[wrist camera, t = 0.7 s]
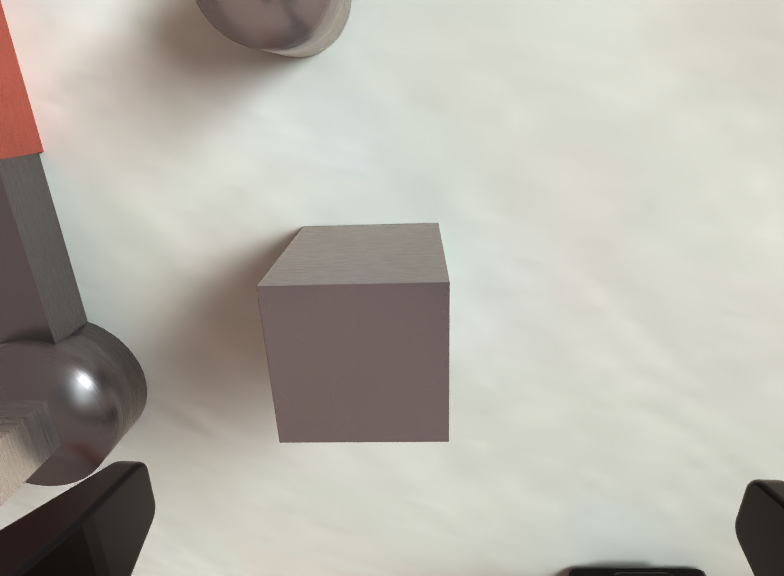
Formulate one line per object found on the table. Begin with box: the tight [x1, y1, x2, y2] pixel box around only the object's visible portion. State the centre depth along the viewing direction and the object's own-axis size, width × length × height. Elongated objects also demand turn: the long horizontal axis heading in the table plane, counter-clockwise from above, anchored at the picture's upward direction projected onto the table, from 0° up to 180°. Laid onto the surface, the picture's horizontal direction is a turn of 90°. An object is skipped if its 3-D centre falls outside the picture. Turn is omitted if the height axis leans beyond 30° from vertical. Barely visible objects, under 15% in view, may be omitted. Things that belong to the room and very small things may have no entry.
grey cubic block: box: [257, 223, 450, 443], centre depth 17 cm, size 5×5×6 cm
